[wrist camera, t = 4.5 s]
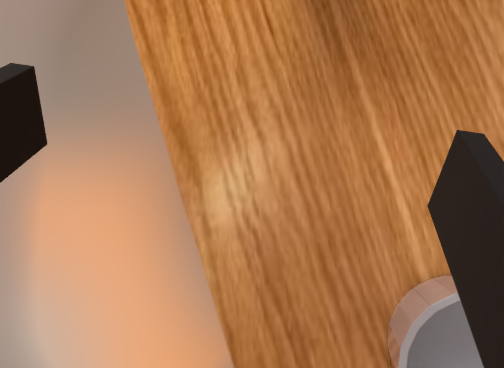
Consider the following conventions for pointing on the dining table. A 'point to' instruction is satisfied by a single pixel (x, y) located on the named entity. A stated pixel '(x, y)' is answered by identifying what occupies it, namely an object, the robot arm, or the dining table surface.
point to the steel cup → (431, 329)
